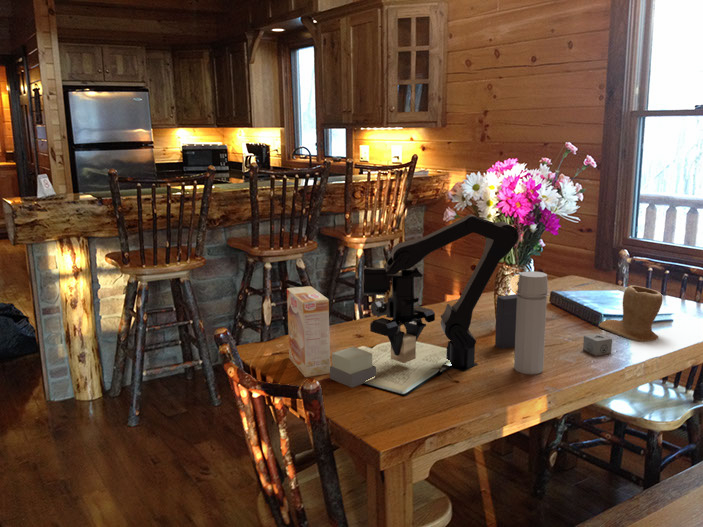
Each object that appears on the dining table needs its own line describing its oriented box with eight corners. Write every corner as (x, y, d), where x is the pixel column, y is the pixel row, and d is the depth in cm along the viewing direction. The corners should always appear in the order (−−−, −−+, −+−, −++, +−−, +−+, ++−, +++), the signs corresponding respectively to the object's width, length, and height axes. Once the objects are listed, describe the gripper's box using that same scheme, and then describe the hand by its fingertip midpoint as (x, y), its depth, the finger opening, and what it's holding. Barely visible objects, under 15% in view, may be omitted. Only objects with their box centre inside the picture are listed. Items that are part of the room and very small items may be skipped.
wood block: (415, 358, 164) (415, 336, 163) (403, 363, 161) (404, 340, 160) (402, 354, 167) (402, 332, 166) (390, 358, 164) (390, 336, 163)
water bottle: (538, 379, 156) (543, 279, 151) (507, 372, 160) (511, 275, 155) (551, 367, 163) (556, 272, 158) (522, 361, 168) (526, 268, 163)
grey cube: (610, 356, 171) (612, 338, 170) (595, 359, 169) (596, 341, 168) (597, 350, 175) (598, 333, 174) (582, 353, 173) (583, 335, 172)
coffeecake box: (288, 358, 173) (285, 288, 169) (313, 354, 175) (311, 285, 171) (304, 377, 159) (301, 301, 155) (331, 373, 161) (329, 298, 157)
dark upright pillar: (526, 342, 182) (529, 291, 179) (535, 347, 178) (538, 295, 175) (493, 347, 179) (495, 295, 175) (501, 352, 175) (503, 299, 172)
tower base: (376, 380, 158) (375, 366, 157) (352, 389, 152) (352, 375, 152) (353, 371, 163) (353, 358, 163) (330, 380, 158) (329, 366, 157)
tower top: (372, 367, 157) (372, 353, 156) (350, 374, 152) (350, 360, 152) (353, 359, 162) (353, 346, 161) (332, 366, 157) (331, 353, 157)
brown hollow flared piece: (668, 341, 182) (673, 290, 179) (637, 347, 177) (641, 294, 174) (627, 326, 196) (631, 279, 192) (597, 332, 191) (600, 283, 188)
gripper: (404, 282, 173) (403, 337, 176) (354, 295, 160) (355, 354, 163) (436, 289, 165) (435, 346, 168) (386, 303, 152) (387, 365, 155)
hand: (403, 352), depth 164 cm, fingers closed on wood block, 4 cm apart
